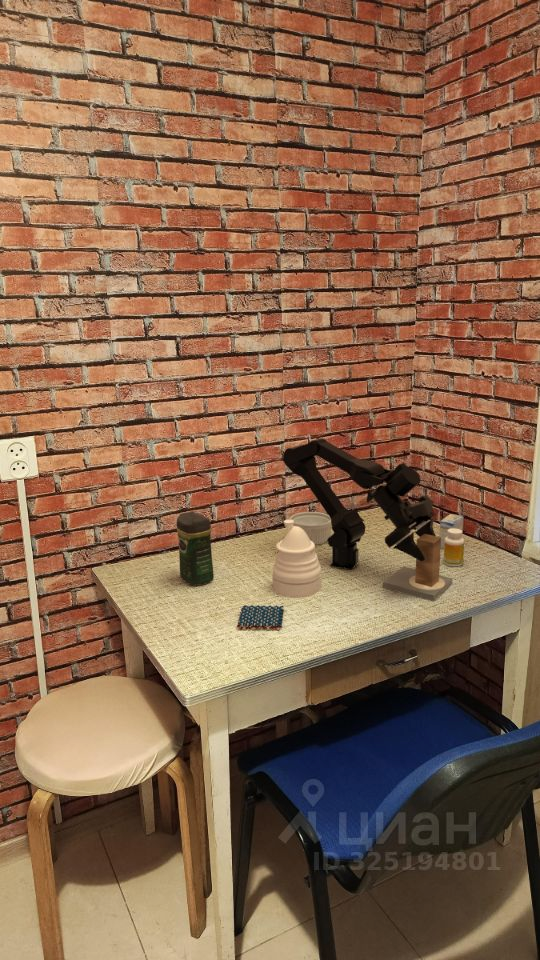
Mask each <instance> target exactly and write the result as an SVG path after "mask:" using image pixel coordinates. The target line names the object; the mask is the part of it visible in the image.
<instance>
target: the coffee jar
mask: <svg viewBox="0 0 540 960" xmlns="http://www.w3.org/2000/svg"><path fill="white" fill-rule="evenodd" d="M176 532H177V537H178V551H179V552H178V553H179V559H178V560H179V577H180V579H182V581H183V582H184V583H187V584H188V585H189V586H197V585H198V586H199V585H200V586H202V585H206V584H209V583H210V582H212V581H213V580H214V578H215V577H214V574H215V573H214V564H213V555H212V554H213V553H212V552H213V551H212V541H211V539H212V538H211V536H212V535H211V533H212V526H211V520H210V518H209V517H207V516H204V515H202V514H200V513H198V512H195V511H193V510H192V511H188V512H183V513H180V514H179V515H178V516H177V519H176Z"/></svg>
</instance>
